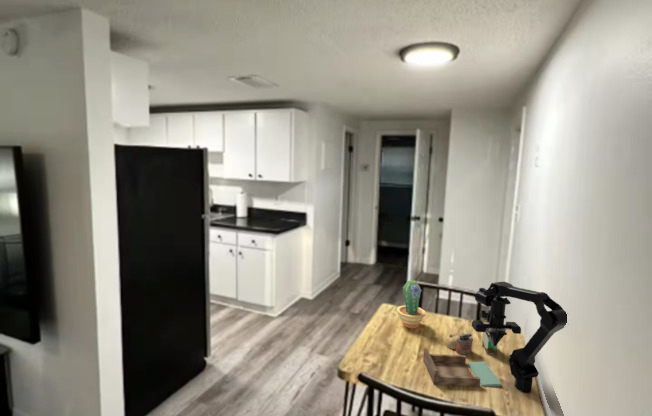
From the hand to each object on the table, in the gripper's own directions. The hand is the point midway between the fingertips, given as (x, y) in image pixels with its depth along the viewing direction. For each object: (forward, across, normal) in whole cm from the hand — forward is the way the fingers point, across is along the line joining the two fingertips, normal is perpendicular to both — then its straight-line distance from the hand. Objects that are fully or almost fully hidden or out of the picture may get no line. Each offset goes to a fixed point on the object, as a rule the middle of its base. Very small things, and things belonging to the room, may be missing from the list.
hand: (494, 345), depth 154 cm
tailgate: (+10, +10, +6) cm, 15 cm away
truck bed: (+11, +20, +6) cm, 24 cm away
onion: (+11, +11, -17) cm, 23 cm away
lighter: (+11, +8, -12) cm, 18 cm away
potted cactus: (+11, +27, -41) cm, 50 cm away
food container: (+11, -6, -15) cm, 20 cm away
